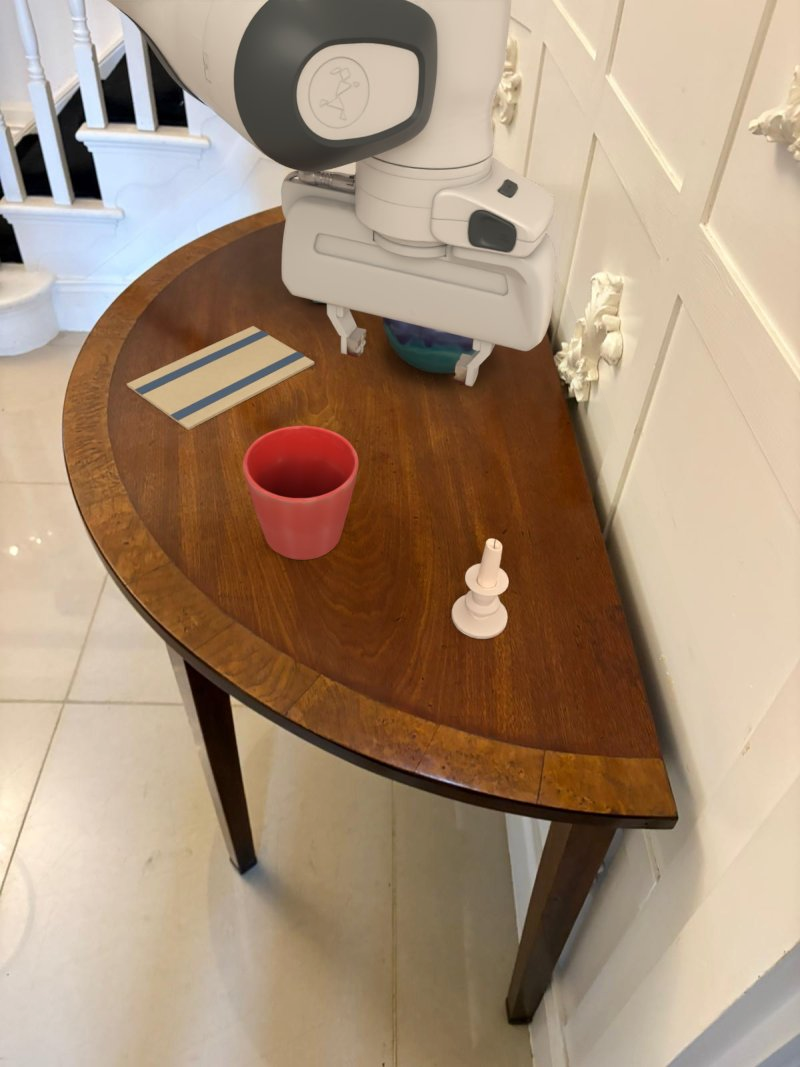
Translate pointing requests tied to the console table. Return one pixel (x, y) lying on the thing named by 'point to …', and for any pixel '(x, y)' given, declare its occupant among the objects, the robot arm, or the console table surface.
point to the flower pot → (301, 488)
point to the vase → (426, 346)
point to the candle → (483, 596)
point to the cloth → (219, 376)
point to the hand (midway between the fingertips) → (408, 366)
